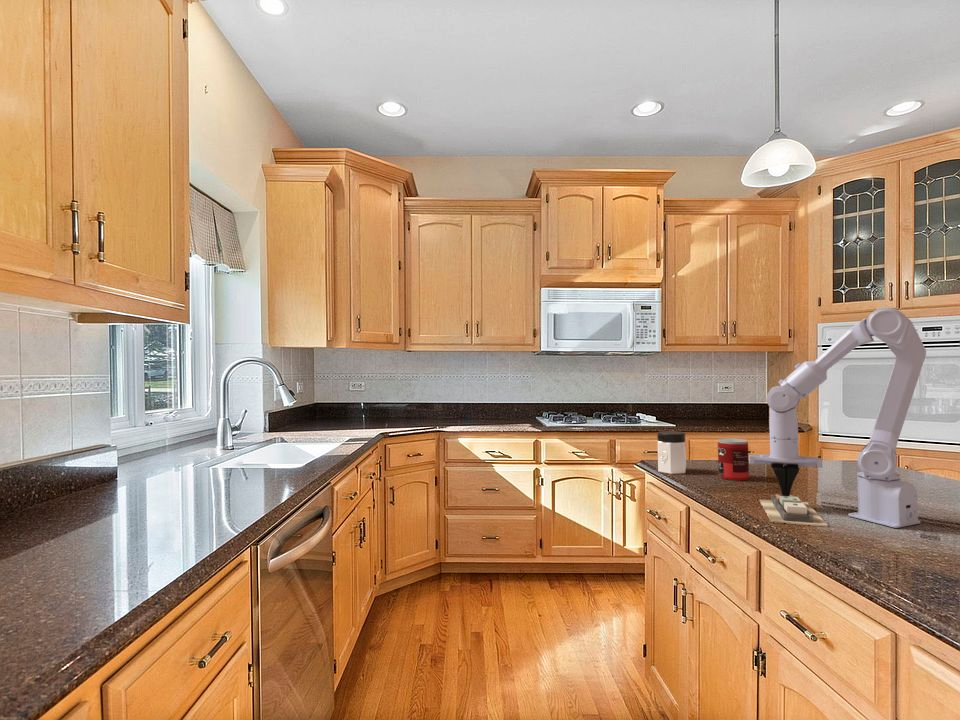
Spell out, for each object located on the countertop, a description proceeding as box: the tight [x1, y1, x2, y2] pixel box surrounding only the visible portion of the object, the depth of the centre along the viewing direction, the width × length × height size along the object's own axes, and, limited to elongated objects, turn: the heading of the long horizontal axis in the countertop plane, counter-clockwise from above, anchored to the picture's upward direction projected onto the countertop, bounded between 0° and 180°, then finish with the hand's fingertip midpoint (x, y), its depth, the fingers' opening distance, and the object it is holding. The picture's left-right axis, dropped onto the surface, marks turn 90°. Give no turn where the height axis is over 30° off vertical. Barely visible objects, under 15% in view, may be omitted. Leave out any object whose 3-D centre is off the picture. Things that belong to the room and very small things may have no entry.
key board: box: [758, 494, 829, 528], centre depth 115 cm, size 18×10×2 cm, turn 159°
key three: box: [774, 494, 794, 500], centre depth 120 cm, size 4×4×2 cm
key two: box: [779, 496, 802, 506], centre depth 115 cm, size 4×4×2 cm
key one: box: [784, 502, 807, 514], centre depth 110 cm, size 4×4×2 cm
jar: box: [656, 430, 687, 475], centre depth 161 cm, size 9×8×12 cm
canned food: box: [717, 437, 750, 482], centre depth 150 cm, size 8×8×11 cm
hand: (785, 496), depth 120 cm, fingers closed, pressing on key three
